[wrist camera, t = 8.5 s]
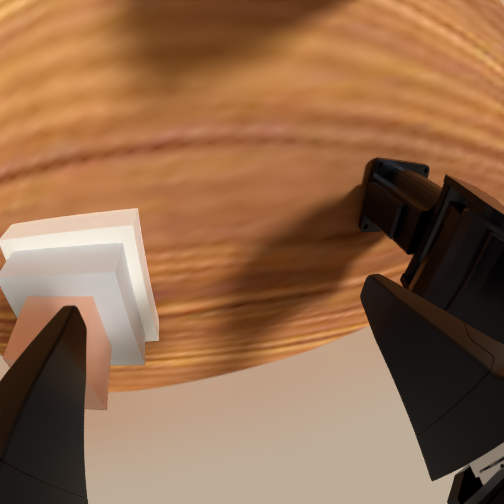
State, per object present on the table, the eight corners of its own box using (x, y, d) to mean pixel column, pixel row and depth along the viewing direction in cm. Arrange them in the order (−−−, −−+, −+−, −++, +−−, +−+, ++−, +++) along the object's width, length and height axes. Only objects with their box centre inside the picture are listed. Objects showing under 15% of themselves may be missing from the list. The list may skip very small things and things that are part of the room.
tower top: (123, 242, 17) (115, 271, 14) (145, 335, 22) (144, 364, 19) (13, 251, 14) (-4, 277, 12) (53, 335, 19) (45, 362, 17)
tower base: (138, 204, 18) (133, 225, 16) (158, 315, 25) (158, 340, 22) (15, 220, 16) (-2, 240, 14) (56, 319, 22) (49, 342, 20)
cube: (93, 296, 15) (77, 365, 11) (112, 347, 17) (107, 410, 13) (27, 296, 13) (2, 358, 9) (53, 346, 16) (40, 403, 12)
